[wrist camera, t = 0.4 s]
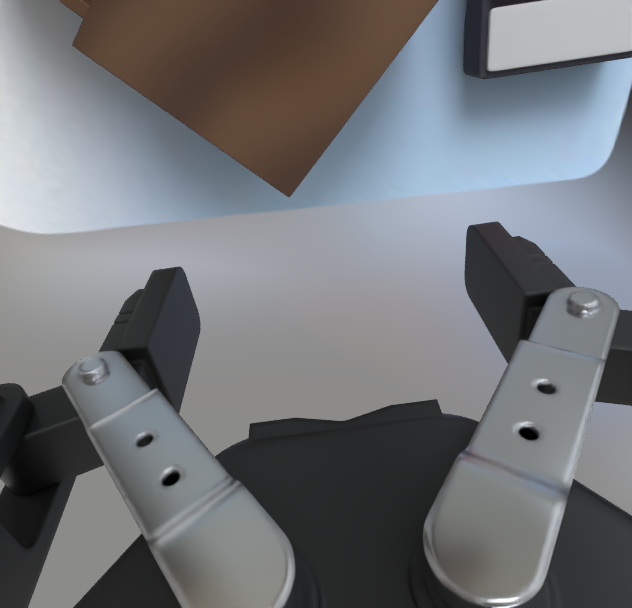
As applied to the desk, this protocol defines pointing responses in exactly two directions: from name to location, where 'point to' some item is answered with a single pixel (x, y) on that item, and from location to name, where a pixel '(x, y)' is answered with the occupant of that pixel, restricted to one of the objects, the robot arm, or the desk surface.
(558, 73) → the desk surface
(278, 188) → the cabinet
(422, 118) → the desk surface
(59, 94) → the desk surface
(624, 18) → the calculator
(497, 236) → the robot arm
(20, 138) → the desk surface
